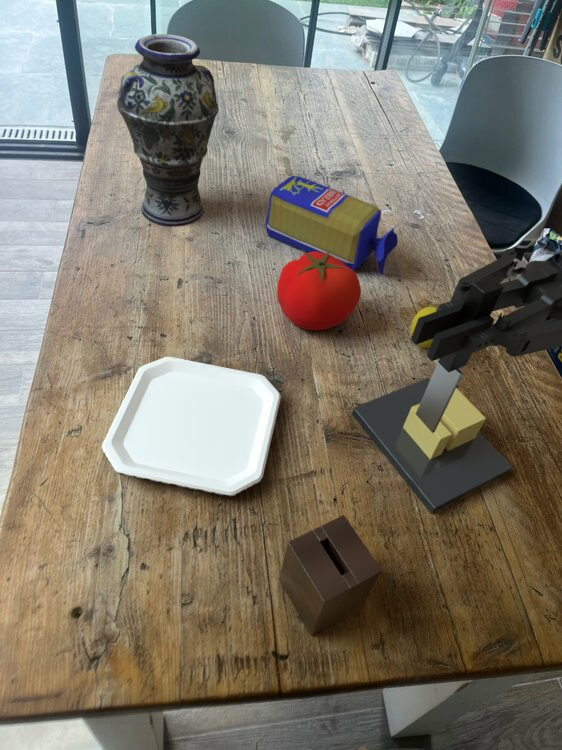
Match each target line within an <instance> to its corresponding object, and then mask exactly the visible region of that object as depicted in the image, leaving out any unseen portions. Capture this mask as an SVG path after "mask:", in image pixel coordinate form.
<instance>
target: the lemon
mask: <svg viewBox="0 0 562 750" xmlns="http://www.w3.org/2000/svg"><path fill="white" fill-rule="evenodd" d="M437 308H438V307H437V306H426V307H423V308H421V309H420V310H419V311H418V312H416V315H414V317H413V318H412V321H411V323H410V329H409V333H410V337H412V334H413V332H414V329H415V326H416V323H417V321H418V318H419V317H422V316H425V315H428V314H431V313H434V312H436V311H437ZM433 339H434V338H433ZM433 339H430V340H428V341H425V342H422V343H419V344H417V346H418V347H420V348H423V349H424V348H425V349H429V348H430V346H431V343H432V341H433Z"/></svg>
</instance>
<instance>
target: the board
mask: <svg viewBox="0 0 562 750" xmlns="http://www.w3.org/2000/svg"><path fill="white" fill-rule="evenodd" d="M430 379H431V378H429V377H427V378H424V379H422V380H419V381H417V382H415V383H412V384H409V385H407V386H404V387H402V388H399V389H397V390H394V391H392V392H391V391H390V392H389V393H387V394H384V395H382V396H379V397H377V398H374V399H372V400H368V401H366V402H364V403H362V404H359V405H356V406H354V407H353V408H352V411H351V415H352V417H353V418H354V419H355V420H356V422H357V423H358V424H359V425H360V427H361V428H362V429H363V430H364V432H365V433H366V434H367V435H368V437H369V438H370V439H371V440H372V442H373V443H374V444H375V446H376V447H377V448H378V449H379V450H380V452H381V453H382V454H383V455H384V457H385V458H386V460H387V461H388V462H389V463H390V464H391V466H392V467H393V468H394V469H395V471H396V472H397V473H398V474H399V476H401V478H402V479H403V480H404V482H405V483H406V484H407V485H408V487H409V488H410V489H411V491H412V492H413V493H414V494H415V496H416V497H417V498H418V499H419V500H420V502H421V503H422V505H423V506H424V507H425V509H426V510H428V512H429V513H430V514H431V515H432V514H434V513H437V512H438V511H440V510H443V509H444V508H447V507H448V506H450V505H452V504H454V503H456V502H457V501H459V500H461V499H463V498H465V497H467V496H468V495H470V494H472V493H474V492H476V491H478V490H480V489H482V488H484V487H486V486H487V485H489V484H492V483H494V482H495V481H497V480H500V479H501V478H503V477H505V476H507V475H509V474H510V472H511V471H512V469H513V468H514V467H513V466H512V464H510V462H508V460H507V459H506V458H505V457H504V456H503V455H502V454H501V453H500V452H499V450H497V449H496V447H494V445H492V443H491V442H490V441H489V440H488V439H487V438H486V437H485V436H484V435H483V434H482V433H481V432H480V431H479V432H478V433H477V435H476V437H475V439H472V440H470V441H468V442H466V443H464V444H462V445H460V446H458V447H456V448H453V449H451V450H449V451H448V450H447V449H446V448H444V450H443V452H442V454H441V455H439V456H437V457H435V458H432V459H429V457H428V456H427V455H426V454H425V453H424V452H423V450H422V449H421V448H420V447H419V446H418V445H417V443H416V442H415V441H414V440H413V439H412V437H411V436H410V435H409V434H408V433H407V432H406V430H405V429H404V428H403V426H404V424H405V422H406V419H407V417H408V414H409V412H410V410H411V407H413V406H415V405H418V404H420V403H421V400H422V398H423V396H424V393H425V391H426V389H427V386H428V384H429V382H430Z"/></svg>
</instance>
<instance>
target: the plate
mask: <svg viewBox="0 0 562 750" xmlns="http://www.w3.org/2000/svg"><path fill="white" fill-rule="evenodd" d="M281 400H282V396H281V393H280V391H279V390H278V389H277V388H276V387H275V386H274V385H273V384H272V383H271V382H270V380H269V379H268V378H267V377H266V376H264V375H263V374H259V373H254V372H250V371H244V370H240V369H239V370H238V369H234V368H228V367H223V366H218V365H215V364H208V363H203V362H199V361H193V360H189V359H183V358H178V357H173V356H164V357H161V358H159V359H157V360H154V361H151V362H149V363H145V364H144V365H142V366H140V367H138V370H137V371H136V373H135V376H134V378H133V380H132V382H131V384H130V386H129V388H128V390H127V393H126V394H125V395H124V398H123V401H122V402H121V404H120V406H119V409H118V411H117V413H116V415H115V417H114V419H113V421H112V422H111V423H112V424H111V425H110V427H109V429H108V432H107V434H106V436H105V438H104V440H103V441H102V445H101V447H102V452H103V453H104V455H105V456H106V459H107V460H108V461H109V463H110V465H111V467H112V469H113V470H114V472H116V473H117V474H119V475H123V476H126V477H127V476H128V477H132V478H138V479H141V480H142V479H143V480H147V481H151V482H155V483H161V484H167V485H171V486H175V487H181V488H184V489H185V488H187V489H190V490H195V491H200V492H201V491H202V492H206V493H209V494H213V495H214V494H215V495H219V496H223V497H235V496H236V495H239V494H240V493H242V492H244V491H246V490H247V489H249V488H252V487H253V486H255V485H257V484H259V483H260V482H262V480H263V478H264V473H265V469H266V465H267V460H268V455H269V452H270V446H271V443H272V438H273V434H274V429H275V425H276V421H277V417H278V412H279V407H280V403H281Z"/></svg>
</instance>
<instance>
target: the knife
mask: <svg viewBox="0 0 562 750" xmlns="http://www.w3.org/2000/svg"><path fill="white" fill-rule="evenodd" d="M503 288H504V286H503V285H502V284H500V283H499V282H498V281H497V280H495V279H494V278H493V277H489V278H485V279H482V280H479V281H476V282H473V283H472V285H471V287H470V290H469V292H468V294H467V297H466V299H465V301H464V303H463V306H462V308H461V310H460V313H459V315H458V317H457V320H456V322H455V324H454V327H456V326H459V325H462V324H464V323H467V322H470V321H473V320H476V319H479V318H481V317H484V316H487V315H490V316H491V315H492V313H493V312H494V311H493V309H494V307H495V305H496V303H497V301H498V298H499V296H500V294H501V292H502V290H503ZM492 311H493V312H492ZM472 354H473V352H468V351H467V350H466V349H462V350H460V351H457V352H455V353H452V354H450V355H447V356H444V357H442V358H439V359H438V361H437V363H436V364H435V365H436V366H435V368H434V370H433V373H432V375H431V377H430V378H429V379H430V382H429V384H428V386H427V389H426V391H425V393H424V396H423V398H422V400H421V403H420V405H419V407H418V409H417V412H416V415H417V416H418V417H419V419H420V420H421V421H422V422H423V423H424V424H425V425H426V426H427V428H428V429H429V430H430V431H431V432H432V433H434V432H435V430H436V428H437V426H438V424H439V422H440V420H441V418H442V416H443V414H444V412H445V410H446V408H447V406H448V404H449V402H450V400H451V397H452V395H453V393H454V391H455V389H456V388H457V387H458V384H459V383H460V381H461V379H462V377H463V374H464V372H462V371H461V368H464V367H466V366H467V364H468V363H469V360H470V358H471V357H472Z"/></svg>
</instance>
